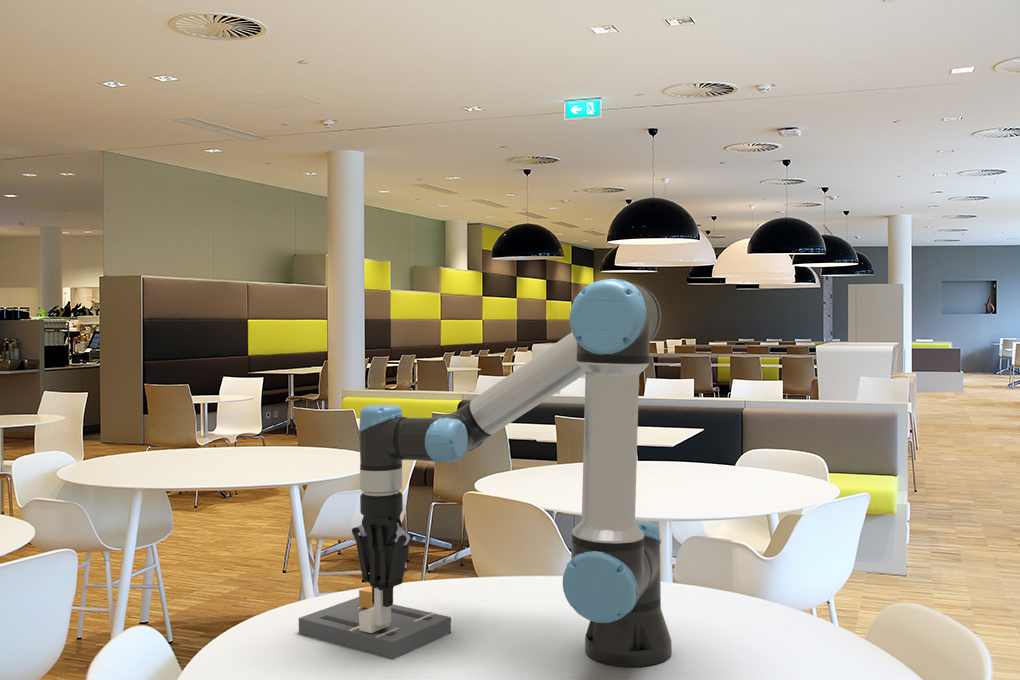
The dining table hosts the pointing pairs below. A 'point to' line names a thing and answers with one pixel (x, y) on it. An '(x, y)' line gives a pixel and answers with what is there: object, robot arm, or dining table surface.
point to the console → (389, 642)
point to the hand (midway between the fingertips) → (382, 623)
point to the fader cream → (369, 621)
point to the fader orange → (366, 597)
